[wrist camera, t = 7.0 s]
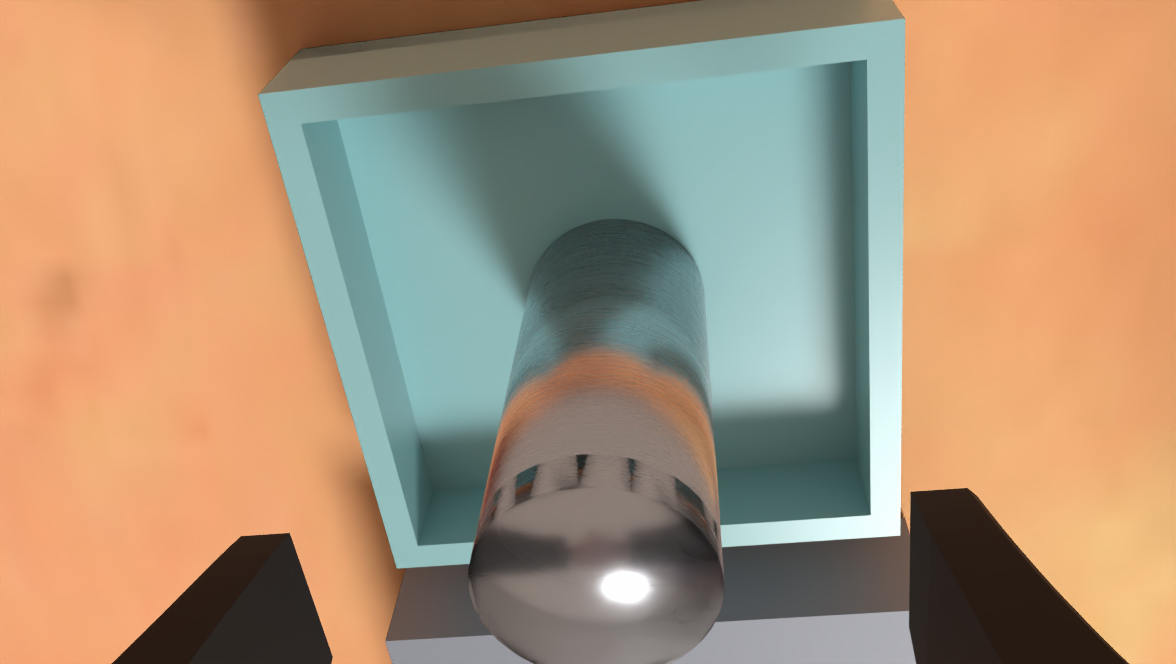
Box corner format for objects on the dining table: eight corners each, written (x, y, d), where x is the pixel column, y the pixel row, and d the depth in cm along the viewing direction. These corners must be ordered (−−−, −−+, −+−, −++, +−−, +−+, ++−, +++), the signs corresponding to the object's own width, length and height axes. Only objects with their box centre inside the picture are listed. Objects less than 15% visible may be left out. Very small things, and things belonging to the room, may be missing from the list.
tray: (877, -21, 17) (905, 18, 15) (878, 458, 21) (900, 535, 19) (300, 49, 18) (258, 94, 16) (419, 492, 22) (396, 568, 20)
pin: (697, 210, 18) (714, 478, 12) (710, 366, 20) (732, 672, 14) (516, 227, 18) (446, 495, 12) (542, 378, 20) (490, 683, 14)
